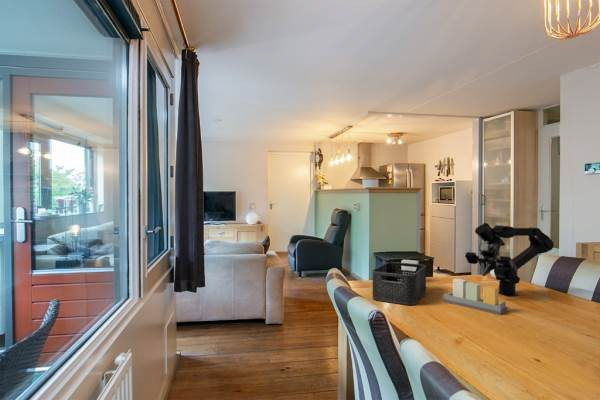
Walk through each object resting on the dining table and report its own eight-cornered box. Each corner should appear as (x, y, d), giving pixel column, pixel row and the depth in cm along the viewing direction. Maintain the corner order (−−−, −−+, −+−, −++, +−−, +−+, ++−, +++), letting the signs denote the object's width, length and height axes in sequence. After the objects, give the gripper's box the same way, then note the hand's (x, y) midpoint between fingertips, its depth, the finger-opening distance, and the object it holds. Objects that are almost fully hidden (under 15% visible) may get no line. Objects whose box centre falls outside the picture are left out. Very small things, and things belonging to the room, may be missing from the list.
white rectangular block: (456, 296, 155) (456, 278, 155) (466, 298, 152) (466, 280, 152) (452, 297, 153) (452, 279, 153) (463, 299, 150) (462, 281, 149)
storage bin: (388, 286, 180) (388, 260, 180) (427, 291, 170) (427, 264, 170) (370, 300, 155) (370, 271, 155) (414, 307, 145) (413, 275, 145)
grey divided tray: (452, 298, 157) (452, 291, 157) (507, 310, 140) (507, 302, 140) (443, 301, 152) (443, 294, 152) (500, 314, 135) (500, 306, 135)
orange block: (486, 304, 143) (486, 285, 143) (498, 307, 139) (498, 287, 139) (483, 306, 140) (483, 286, 140) (495, 309, 137) (495, 289, 137)
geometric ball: (502, 284, 191) (512, 273, 188) (492, 280, 189) (502, 269, 185) (493, 274, 198) (503, 264, 195) (484, 271, 195) (493, 260, 192)
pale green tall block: (469, 300, 148) (469, 282, 148) (480, 303, 145) (480, 284, 144) (465, 302, 146) (465, 283, 146) (476, 305, 142) (476, 285, 142)
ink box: (419, 282, 187) (419, 260, 187) (417, 284, 183) (417, 261, 183) (403, 280, 191) (403, 259, 191) (401, 282, 187) (401, 260, 187)
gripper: (466, 234, 162) (456, 261, 155) (511, 238, 148) (501, 267, 141) (473, 249, 167) (463, 275, 160) (517, 254, 153) (508, 283, 146)
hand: (483, 275), depth 152 cm, fingers closed
